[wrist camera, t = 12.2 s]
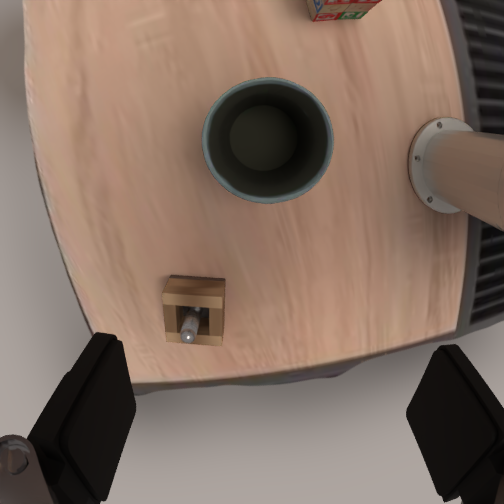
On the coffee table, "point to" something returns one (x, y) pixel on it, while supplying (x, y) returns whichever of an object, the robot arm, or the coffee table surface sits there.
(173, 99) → the coffee table surface
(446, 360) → the robot arm
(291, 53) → the coffee table surface
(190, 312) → the peg stand
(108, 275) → the coffee table surface
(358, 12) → the stack of blocks
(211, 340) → the square wooden ring
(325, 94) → the coffee table surface
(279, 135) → the teal cup
